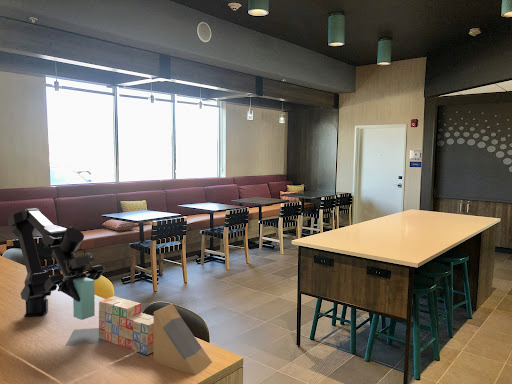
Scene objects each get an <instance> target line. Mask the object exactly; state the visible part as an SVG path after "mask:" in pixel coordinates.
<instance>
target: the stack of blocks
mask: <svg viewBox="0 0 512 384" xmlns="http://www.w3.org/2000/svg"><path fill="white" fill-rule="evenodd" d="M141 306H142V303H140V302H137V301H133V300H129V299H126V298H121V297H119V296H115V295H113V296H111V297H108V298H105V299H102V300H99V302H98V307H99V308H98V328H99V338H101V339H104V340H106V341H107V342H109V343H112V344H115V345H117V346H120V347H121V346H122V347H124V348H127V349H130V350H132V351H135V352H138V353H140V354H143V355H146V356H148V355H150V354H152V353H154V315H152V314H151V315H150V314H147V313H145V312H144V313H143V312H141V311H142V307H141Z"/></svg>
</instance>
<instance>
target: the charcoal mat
mask: <svg viewBox="0 0 512 384" xmlns="http://www.w3.org/2000/svg"><path fill="white" fill-rule="evenodd" d="M107 342H108V341H106V340H104V339H101V338H99V327H94V328H93V327H92V328H77V329H73V330H72V333H71V334H70V336H69V338H68V339H67V341H66V343H65V347H67V346H69V347H70V346H77V345H78V346H80V345H82V346H83V345H93V344H94V345H95V344H96V345H97V344H107Z"/></svg>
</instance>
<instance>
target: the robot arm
mask: <svg viewBox="0 0 512 384" xmlns="http://www.w3.org/2000/svg"><path fill="white" fill-rule="evenodd" d="M7 224H8V226H9V228H10V231H11V233H13V234H14V235H15V236H16V237H17V238H18V242H19V245H20V249H21V253H22V258H23V261H24V266H25V270H26V277H25V280H24V287H23V288H22V290H21V292H20V297H21V300H24V301H25V313H24V315H23V316H24V317H25V318H26V317H41V316H42V317H43V316H44V315H45V314H46V313H47V312H48V311H49V299H48V298H47V297H49V296H51V294H52V292H54V291H56V290H57V292H61V293H64V294H65V295H67V296H69V297H70V298H72V299H74V300H76V301H77V302H79V301H80V297H79V295H78V293H77V291H76V289H75V287H74V285H73V281H74V280H78V279H82V278H89V279H93V280H94V281H97V280H99V279H100V277H101V276H102V275H103V274H104V272H105V271H106V270H105V267H104V265H103V264H97V265H93V266H90V265H91V264H92V263H93V262H94V261H95V257H94V255H93V253H92V252H87V253H85V254H83V255H81V256H77V255H76V254H75V253H74V252H76V251H77V250H78V249H79V247H80V245H81V243H82V242H83V240H84V239H85V234H84V233H83V232H81V231H80V230H79V229H75V227H74V226H68V227H66V228H64V227H62V226H60V225H55V224H53V222H51V221H50V220H49V219H48V218H47V217H46V216H45V215H44V214H42V213H41V210H40V209H39V208H37V207H34V208H33V207H32V208H25V209H23V210H22V211H21V210H20V211H19V212H15V213H12V214H11V215H10V216H8V218H7ZM34 230H36V231H37V232H38V233H39V234H40V235H41V241H42V242H43V245H44V246H46V247H47V248H53V247H55V248H54V249H52V253H51V259H55V260H56V262H57V265H58V266H59V267H58V268H57V269H58V271H59V272H61V273H57V274H53V275H50V272H49V271H45V270H44V269H43V268H42V265H41V261H40V257H39V254H38V250H37V249H38V248H37V246H36V242H35V239H34V235H33V232H34ZM87 266H90V267H89V269H88V270H86V268H87ZM85 270H86V271H85ZM57 288H58V289H57Z"/></svg>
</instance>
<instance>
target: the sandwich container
mask: <svg viewBox="0 0 512 384" xmlns="http://www.w3.org/2000/svg"><path fill="white" fill-rule="evenodd" d="M153 316H154V352H153V363H155V364H159V365H162V366H165V367H168V368H172V369H175V370H178V371H181V372H184V373H188V374H191V375H194V376H198V375H199V374H200V373H201V372H203V371H204V370H205V369H207V367H209V366H210V365H211V364H212V363H213V361H212V359H211V358H210V357H209V355H208V354H207V353H206V351H205V350H204V348H203V347H202V346H201V344H200V343H199V341H198V340H197V338H196V337H195V335H194V334H193V332H192V331H191V329H190V328H189V327H188V325H187V323H186V322H185V321H184V319H183V318H182V316H181V314H180V313H179V312H178V310H177V309H176V307H175V306H174V304H173V303H171V304H168V305H166V306H164V307H161V308H159V309H157V310H155V311H153Z"/></svg>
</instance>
